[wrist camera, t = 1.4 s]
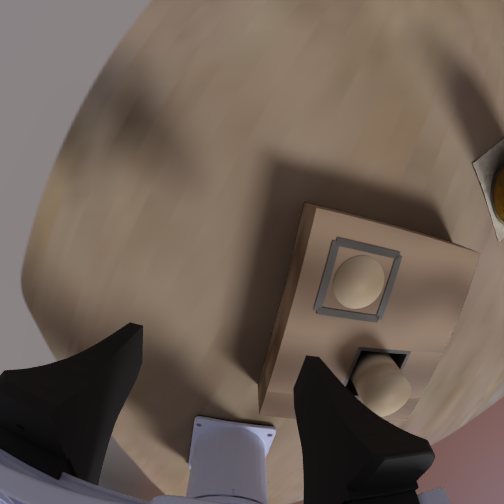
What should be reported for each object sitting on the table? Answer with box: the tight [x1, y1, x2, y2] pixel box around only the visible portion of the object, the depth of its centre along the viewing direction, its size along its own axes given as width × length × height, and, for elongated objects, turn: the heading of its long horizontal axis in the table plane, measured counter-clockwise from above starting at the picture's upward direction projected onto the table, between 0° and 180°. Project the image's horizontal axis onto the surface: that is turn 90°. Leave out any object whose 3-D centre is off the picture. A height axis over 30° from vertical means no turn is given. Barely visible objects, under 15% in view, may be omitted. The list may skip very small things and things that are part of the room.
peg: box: [350, 351, 411, 417], centre depth 20 cm, size 4×4×4 cm
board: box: [258, 202, 480, 420], centre depth 22 cm, size 16×14×4 cm
